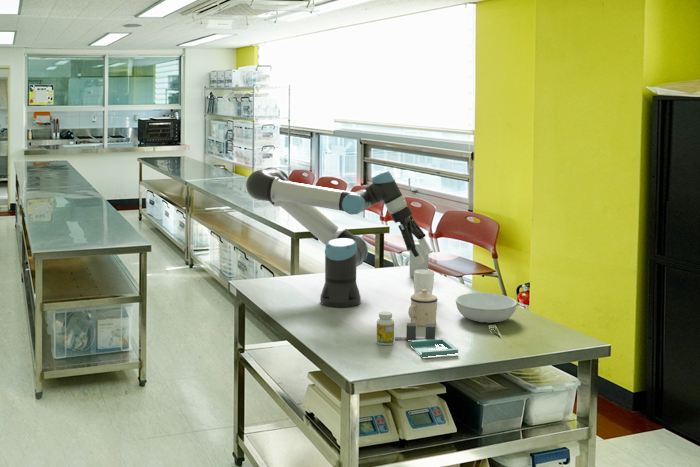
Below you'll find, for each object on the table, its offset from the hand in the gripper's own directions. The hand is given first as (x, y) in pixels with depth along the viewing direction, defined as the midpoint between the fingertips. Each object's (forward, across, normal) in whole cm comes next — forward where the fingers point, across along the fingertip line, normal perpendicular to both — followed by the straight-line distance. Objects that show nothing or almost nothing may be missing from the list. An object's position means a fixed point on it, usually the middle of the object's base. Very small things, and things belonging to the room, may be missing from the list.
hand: (425, 258), depth 272 cm
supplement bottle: (+10, -57, +6) cm, 58 cm away
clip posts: (+15, -51, -2) cm, 53 cm away
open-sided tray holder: (+17, -60, -8) cm, 63 cm away
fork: (+28, -41, -23) cm, 54 cm away
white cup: (+14, +2, +9) cm, 16 cm away
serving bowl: (+25, -21, -15) cm, 36 cm away
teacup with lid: (+14, -34, +2) cm, 36 cm away
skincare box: (+12, +36, +18) cm, 42 cm away
